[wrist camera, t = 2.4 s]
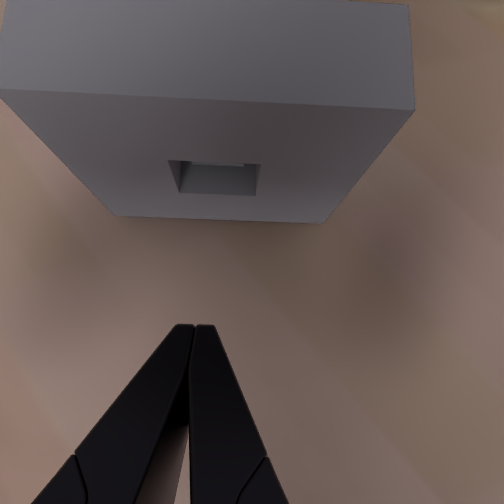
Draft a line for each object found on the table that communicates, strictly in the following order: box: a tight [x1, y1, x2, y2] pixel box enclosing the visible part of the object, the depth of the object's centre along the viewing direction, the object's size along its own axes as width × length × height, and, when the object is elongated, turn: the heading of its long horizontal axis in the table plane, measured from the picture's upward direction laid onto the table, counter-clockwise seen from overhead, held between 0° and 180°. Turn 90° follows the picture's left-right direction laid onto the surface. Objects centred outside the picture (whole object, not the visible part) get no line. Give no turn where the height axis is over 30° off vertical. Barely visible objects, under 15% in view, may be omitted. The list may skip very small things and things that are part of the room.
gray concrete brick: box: [0, 0, 415, 224], centre depth 15 cm, size 3×10×10 cm, turn 89°
